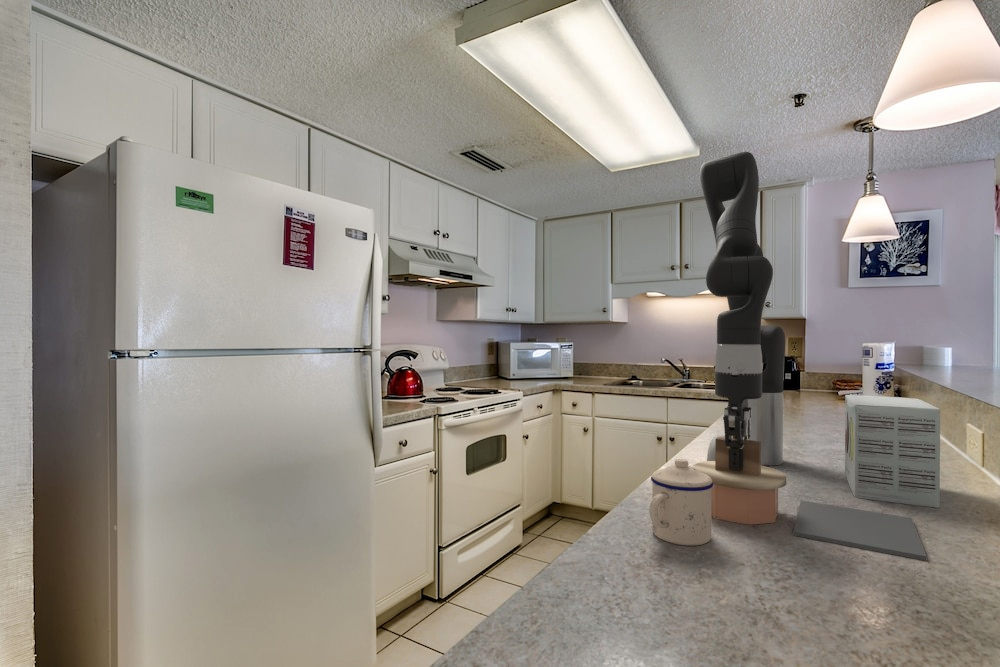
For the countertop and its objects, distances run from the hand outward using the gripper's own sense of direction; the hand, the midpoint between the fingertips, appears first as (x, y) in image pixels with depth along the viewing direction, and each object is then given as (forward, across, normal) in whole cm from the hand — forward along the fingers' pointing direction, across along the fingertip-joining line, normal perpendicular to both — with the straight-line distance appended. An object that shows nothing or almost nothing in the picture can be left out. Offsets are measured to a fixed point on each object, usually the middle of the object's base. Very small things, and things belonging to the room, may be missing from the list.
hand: (737, 467), depth 91 cm
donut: (+8, -17, -6) cm, 20 cm away
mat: (+8, -2, +17) cm, 19 cm away
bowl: (+8, 0, 0) cm, 8 cm away
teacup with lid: (+8, +18, -6) cm, 21 cm away
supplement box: (+8, -30, +23) cm, 39 cm away
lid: (+2, 0, 0) cm, 2 cm away
